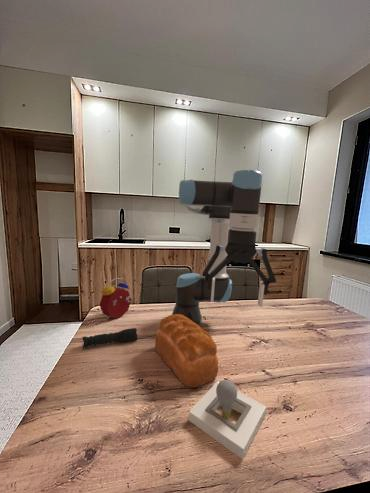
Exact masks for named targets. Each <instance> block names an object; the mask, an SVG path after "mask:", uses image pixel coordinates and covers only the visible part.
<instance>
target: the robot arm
mask: <svg viewBox="0 0 370 493" xmlns="http://www.w3.org/2000/svg"><path fill="white" fill-rule="evenodd" d="M262 181H263V174H262V172H261V171H259V170H254V169H240V170H236V171H235V172H234V173H233V177H232V180H231V181H212V180H211V181H210V180H193V179H186V180H185V179H182V180H180V181H179V187H178V202H179V204H180V205H184V206H185V208H186V209H187V210H189V211H190V212H192V213H196V214H198V215H203V216H205V215H207V216H208V219H209V222H211V227H210V228H211V230H210V244H209V245H210V246H209V259H208V260H209V261H208V263H207V265H206V266H205V267H204V269H203V271H202V273H201V274H202V275H201V274H199V273H196V272H190V273H183V274H181V275H179V276H178V277H177V280H176V285H175V287H176V292H175V293H176V295H175V296H176V297H175V305H174V308H173V310H172V313H171V315H173V314H181V315H184V316H185V317H187V318H189V319H190V320H192V321H193V322H194V323H196V324H197V325H198V326H199V325H200V324H201V323H202V314H201V313H202V312H201V309H200V302H208V303H209V302H210V303H211V302H212V303H227V302H228V301H229V299H230V297H231V294H232V289H233V288H232V286H233V281H232V279H230V276H229V274H228V273H227V265H228V264H230V263H231V262H232V263H234V264H238V263H240V264H243V265H245V264H247V263H249V264H250V265H251V267H252V268H253V270H255V272H256V274H257V275H258V276H259V278H260V280H262V281H259V289H258V295H257V296H258V297H257V305H258V307H259V308H263V302H264V296H267V295H268V291H269V286H270V285H271V284H275V283H277V279H276V276H275V273H274V272H273V269H272V267H271V264H270V261H269V259H268V250H267V249H266V248H265V247H260V248H256V243H257V242H256V240H257V232H256V230H257V229H258V222H259V211H260V210H259V209H260V204H261V203H260V202H261V193H262V187H263V184H262ZM256 254H258V256H259V257H260V258H261V260H262V263H263V265H264V267H265V268H264V269H265V270H266V273H267V276H266V275H265V274H264V273H263V271H262V270H261V268H260V267H259V266H258V265H257V263H256V262H255V260H254V258H253V257H254V256H255V255H256Z"/></svg>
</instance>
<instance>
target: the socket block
mask: <svg viewBox="0 0 370 493" xmlns="http://www.w3.org/2000/svg"><path fill="white" fill-rule="evenodd" d="M219 382H221V381H220V380H217V381H216V382H215V383H214V384H213V385H212V386H211V388H209V389H208V391H206V393H205V394H204V395H203V396H202V397H201V398H200V399H199V400H198V401H197V403H195V405H193V407H192V408H191V409H190V410H189V413H188V422H190V423H192V424H193V425H194V426H195V427H197V428H199V429H200V430H201V431H203V432H205V434H207V435H208V436H210V437H211V438H213V439H214V440H215V441H216V442H218V443H219V444H220V445H222V446H223V447H225V448H226V449H228V450H229V451H230V452H232V453H233V454H235V455H236V456H237V457H238V458H240V459H242V460H243V459H244V457H245V456H246V453H247V452H248V449H250V448H249V447H250V446H251V444H252V442H253V441H254V438H255V436H256V434H257V432H258V430H259V428H260V427H261V425H262V423H263V421H264V419H265V418H266V414H267V406H266V405H264V404H262V403H261V402H259V401H257V400H256V399H253V398H251V397H249V396H248V395H246V394H244V393H243V392H240V391H238V390H237V398H236V400H235V402H234V403H233V404H232V405H231V410H234V411H236V412H238V413H239V414H241V415H240V416H239V418H238V419H237V421H236V422H235V423H233V422H232V421H231V420H229V419H228V418H224V417H223V415H221V414H219V413H218V412H217V410H219V408H220V406H222V404H221V402H220V401H219V399H218V397H217V394H216V388H217V385H218V384H219Z"/></svg>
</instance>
